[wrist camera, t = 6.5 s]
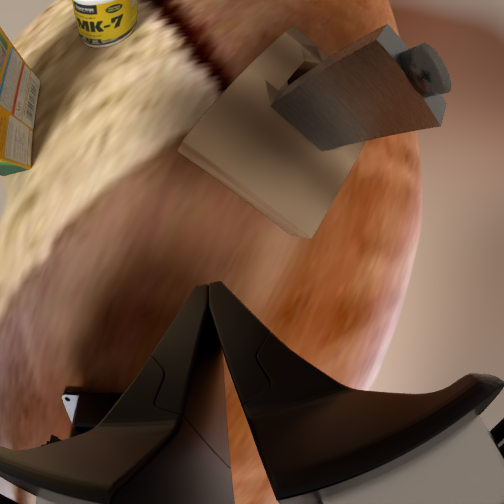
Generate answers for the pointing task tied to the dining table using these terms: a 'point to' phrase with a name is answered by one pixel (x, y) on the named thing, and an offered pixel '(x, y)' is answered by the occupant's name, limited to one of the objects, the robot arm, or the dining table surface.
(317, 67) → the grey piece
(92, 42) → the supplement bottle
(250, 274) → the dining table surface
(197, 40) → the dining table surface
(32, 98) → the crayon box
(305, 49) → the board
